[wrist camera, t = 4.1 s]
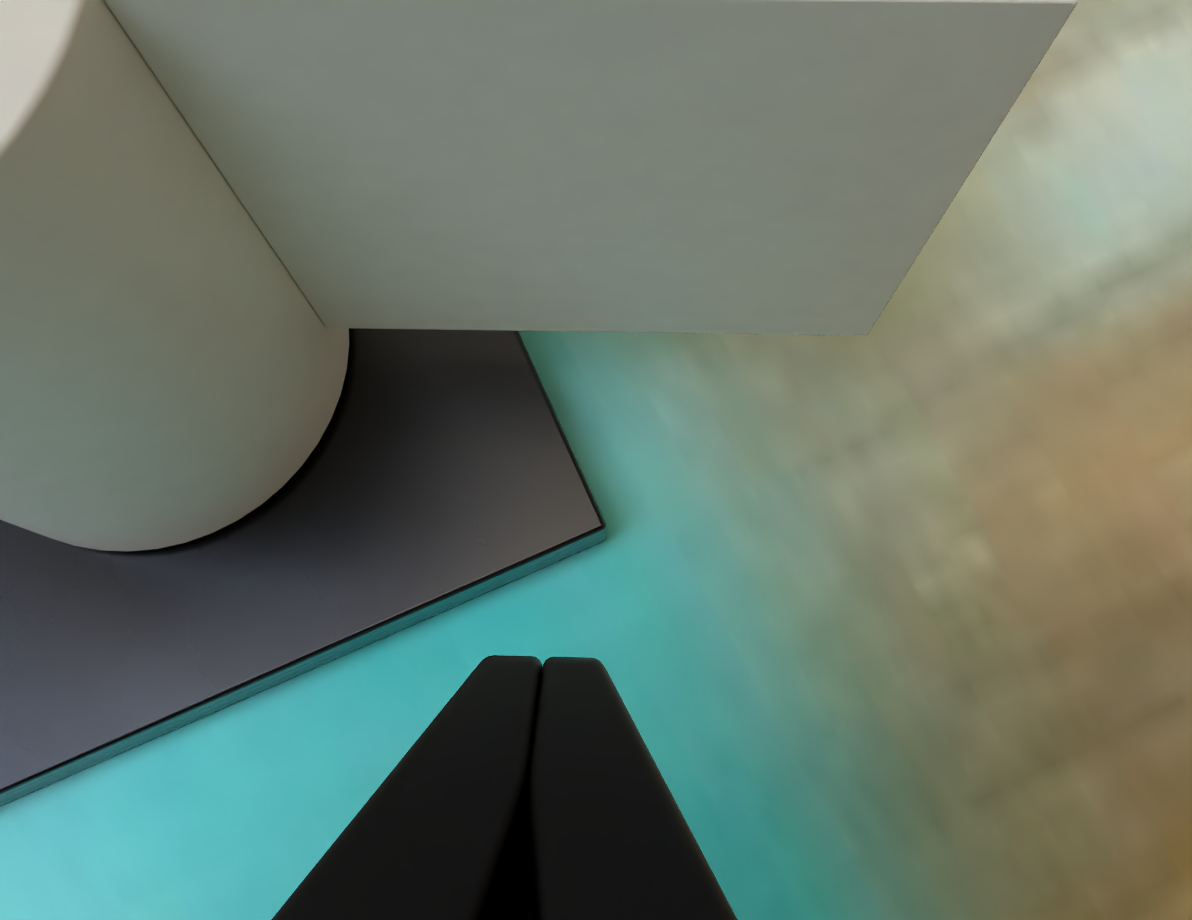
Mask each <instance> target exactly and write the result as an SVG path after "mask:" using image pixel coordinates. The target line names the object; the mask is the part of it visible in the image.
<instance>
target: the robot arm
mask: <svg viewBox="0 0 1192 920" xmlns="http://www.w3.org/2000/svg"><path fill="white" fill-rule="evenodd" d="M272 920H737V918H736V916H735V914H734V912H733V910H732V909H731V907H730V905H729V903H728V901H727V899H726V897H725V895H724V893H723V891H722V889H721V888H720V886H719V884H718V882H717V880H716V878H715V876H714V874H713V872H712V870H711V869H710V867H709V865H708V863H707V861H706V859H705V857H704V855H703V853H702V851H701V849H700V848H699V846H698V844H697V842H696V840H695V838H694V836H693V834H692V832H691V830H690V829H689V827H688V825H687V823H686V821H685V819H684V817H683V815H682V813H681V811H680V809H679V808H678V806H677V804H676V802H675V800H674V798H673V796H672V794H671V792H670V790H669V789H668V787H667V785H666V783H665V781H664V779H663V777H662V775H661V773H660V771H659V769H658V768H657V766H656V764H655V762H654V760H653V758H652V756H651V754H650V752H649V750H648V749H647V747H646V745H645V743H644V741H643V739H642V737H641V735H640V733H639V731H638V729H637V728H636V726H635V724H634V722H633V720H632V718H631V716H630V714H629V712H628V710H627V709H626V707H625V705H624V703H623V701H622V699H621V697H620V695H619V693H618V691H617V690H616V688H615V686H614V684H613V682H612V680H611V678H610V676H609V674H608V672H607V670H606V669H605V667H604V665H603V664H602V663H601V662H600V661H599V660H597V659H595V658H580V657H550V658H549V659H547V660H546V661H545V663H544V664H543V667H542V663H541V662H540V660H539V659H538V658H536V657H533V656H497V655H493V656H488V657H486V658H485V659H483V660H482V661H481V662H480V663H479V665H478V666H477V667H476V668H475V670H474V671H473V672H472V673H471V674H470V676H469V677H468V678H467V679H466V681H465V682H464V683H463V684H462V686H461V687H460V688H459V689H458V691H457V692H456V693H455V694H454V695H453V697H452V698H451V699H450V700H449V702H448V703H447V704H446V705H445V707H444V708H443V709H442V710H441V711H440V713H439V714H438V715H437V716H436V718H435V719H434V720H433V721H432V723H431V724H430V725H429V726H428V727H427V729H426V730H425V731H424V732H423V734H422V735H421V736H420V737H419V739H418V740H417V741H416V742H415V743H414V745H413V746H412V747H411V748H410V750H409V751H408V752H407V753H406V755H405V756H404V757H403V758H402V759H401V761H400V762H399V763H398V764H397V766H396V767H395V768H394V769H393V771H392V772H391V773H390V774H389V775H388V777H387V778H386V779H385V780H384V782H383V783H382V784H381V785H380V787H379V788H378V789H377V790H376V792H375V793H374V794H373V795H372V796H371V798H370V799H369V800H368V801H367V803H366V804H365V805H364V806H363V808H362V809H361V810H360V811H359V812H358V814H357V815H356V816H355V817H354V819H353V820H352V821H351V822H350V824H349V825H348V826H347V827H346V828H345V830H344V831H343V832H342V833H341V835H340V836H339V837H338V838H337V840H336V841H335V842H334V843H333V844H332V846H331V847H330V848H329V849H328V851H327V852H326V853H325V854H324V856H323V857H322V858H321V859H320V860H319V862H318V863H317V864H316V865H315V867H314V868H313V869H312V870H311V872H310V873H309V874H308V875H307V876H306V878H305V879H304V880H303V881H302V883H301V884H300V885H299V886H298V888H297V889H296V890H295V891H294V893H293V894H292V895H291V896H290V897H289V899H288V900H287V901H286V902H285V904H284V905H283V906H282V907H281V909H280V910H279V911H278V912H277V913H276V915H275V916H274V917H273V918H272Z"/></svg>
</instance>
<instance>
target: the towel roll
mask: <svg viewBox="0 0 1192 920" xmlns="http://www.w3.org/2000/svg"><path fill="white" fill-rule="evenodd" d="M1077 3H1078V0H0V520H3V521H5V522H8V523H11V524H13V525H16V526H19V527H22V528H24V529H27V530H30V531H32V532H35V533H38V534H41V535H43V536H46V537H49V538H52V539H55V540H58V541H61V542H64V543H67V544H71V545H74V546H79V547H85V548H90V549H96V550H105V551H139V550H150V549H159V548H163V547H168V546H172V545H177V544H181V543H185V542H188V541H191V540H194V539H197V538H200V537H202V536H205V535H208V534H211V533H213V532H215V531H217V530H219V529H221V528H223V527H225V526H227V525H229V524H231V523H233V522H235V521H237V520H239V519H240V518H242V517H243V516H245V515H246V514H248V513H249V512H251V511H252V510H254V509H255V508H257V507H259V506H260V505H261V504H263V503H264V502H265V501H266V500H267V499H269V498H270V497H271V496H272V495H273V494H274V493H276V492H277V491H278V490H279V489H280V488H282V487H283V486H284V485H285V483H286V482H287V481H288V480H289V479H290V478H291V477H292V476H293V475H294V474H295V473H296V472H297V471H298V469H299V468H300V467H301V466H302V465H303V464H304V462H305V461H306V459H307V458H308V457H309V455H310V454H311V452H312V451H313V450H314V448H315V447H316V445H317V444H318V442H319V441H320V439H321V437H322V435H323V433H324V431H325V430H326V428H327V426H328V424H329V422H330V420H331V418H332V415H333V413H334V410H335V408H336V405H337V403H338V400H339V397H340V395H341V391H342V387H343V382H344V378H345V374H346V370H347V361H348V351H349V328H369V329H440V330H512V331H584V332H656V333H727V334H799V335H868V333H869V332H870V330H871V329H872V327H873V326H874V324H875V322H876V321H877V319H878V318H879V316H880V314H881V313H882V311H883V310H884V308H885V307H886V305H887V303H888V302H889V300H890V299H891V297H892V295H893V294H894V292H895V291H896V289H897V288H898V286H899V284H900V283H901V281H902V280H903V278H904V276H905V275H906V273H907V272H908V270H909V269H910V267H911V265H912V264H913V262H914V261H915V259H916V258H917V256H918V254H919V253H920V251H921V250H922V248H923V246H924V245H925V243H926V242H927V240H928V239H929V237H930V235H931V234H932V232H933V231H934V229H935V227H936V226H937V224H938V223H939V221H940V220H941V218H942V216H943V215H944V213H945V212H946V210H947V208H948V207H949V205H950V204H951V202H952V201H953V199H954V197H955V196H956V194H957V193H958V191H959V190H960V188H961V186H962V185H963V183H964V182H965V180H966V178H967V177H968V175H969V174H970V172H971V171H972V169H973V167H974V166H975V164H976V163H977V161H978V159H979V158H980V156H981V155H982V153H983V152H984V150H985V148H986V147H987V145H988V144H989V142H990V140H991V139H992V137H993V136H994V134H995V133H996V131H997V129H998V128H999V126H1000V125H1001V123H1002V122H1003V120H1004V118H1005V117H1006V115H1007V114H1008V112H1009V110H1010V109H1011V107H1012V106H1013V104H1014V103H1015V101H1016V99H1017V98H1018V96H1019V95H1020V93H1021V91H1022V90H1023V88H1024V87H1025V85H1026V84H1027V82H1028V80H1029V79H1030V77H1031V76H1032V74H1033V72H1034V71H1035V69H1036V68H1037V66H1038V65H1039V63H1040V61H1041V60H1042V58H1043V57H1044V55H1045V54H1046V52H1047V50H1048V49H1049V47H1050V46H1051V44H1052V42H1053V41H1054V39H1055V38H1056V36H1057V35H1058V33H1059V31H1060V30H1061V28H1062V27H1063V25H1064V23H1065V22H1066V20H1067V19H1068V17H1069V16H1070V14H1071V12H1072V11H1073V9H1074V8H1075V6H1076V5H1077Z"/></svg>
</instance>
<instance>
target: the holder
mask: <svg viewBox="0 0 1192 920" xmlns="http://www.w3.org/2000/svg"><path fill="white" fill-rule="evenodd" d="M605 539H606V531H605V522H604V520H603V517H602V515H601V513H600V511H599V509H598V506H597V504H596V502H595V500H594V497H593V495H592V493H591V491H590V489H589V486H588V484H587V482H586V480H585V478H584V475H583V473H582V471H581V469H580V467H579V464H578V462H577V460H576V458H575V456H574V453H573V451H572V449H571V447H570V445H569V442H568V440H567V438H566V436H565V434H564V431H563V429H562V427H561V425H560V423H559V420H558V418H557V416H556V414H555V411H554V409H553V407H552V405H551V403H550V400H549V398H548V396H547V394H546V392H545V389H544V387H543V385H542V383H541V381H540V378H539V376H538V374H537V372H536V370H535V367H534V365H533V363H532V361H531V359H530V356H529V354H528V352H527V350H526V348H525V345H524V343H523V341H522V339H521V336H520V334H519V332H518V331H512V330H440V329H369V328H349V351H348V361H347V370H346V374H345V378H344V382H343V387H342V391H341V395H340V397H339V400H338V403H337V405H336V408H335V410H334V413H333V415H332V418H331V420H330V422H329V424H328V426H327V428H326V430H325V431H324V433H323V435H322V437H321V439H320V441H319V442H318V444H317V445H316V447H315V448H314V450H313V451H312V452H311V454H310V455H309V457H308V458H307V459H306V461H305V462H304V464H303V465H302V466H301V467H300V468H299V469H298V471H297V472H296V473H295V474H294V475H293V476H292V477H291V478H290V479H289V480H288V481H287V482H286V483H285V485H284V486H283V487H282V488H280V489H279V490H278V491H277V492H276V493H274V494H273V495H272V496H271V497H270V498H269V499H267V500H266V501H265V502H264V503H263V504H261V505H260V506H259V507H257V508H255V509H254V510H252V511H251V512H249V513H248V514H246V515H245V516H243V517H242V518H240V519H239V520H237V521H235V522H233V523H231V524H229V525H227V526H225V527H223V528H221V529H219V530H217V531H215V532H213V533H211V534H208V535H205V536H202V537H200V538H197V539H194V540H191V541H188V542H185V543H181V544H177V545H172V546H168V547H163V548H159V549H150V550H139V551H105V550H96V549H90V548H85V547H79V546H74V545H71V544H67V543H64V542H61V541H58V540H55V539H52V538H49V537H46V536H43V535H41V534H38V533H35V532H32V531H30V530H27V529H24V528H22V527H19V526H16V525H13V524H11V523H8V522H5V521H3V520H0V806H2V805H4V804H6V803H9V802H11V801H13V800H15V799H18V798H20V797H22V796H24V795H27V794H29V793H31V792H34V791H36V790H38V789H40V788H43V787H45V786H47V785H49V784H52V783H54V782H56V781H59V780H61V779H63V778H65V777H68V776H70V775H72V774H75V773H77V772H79V771H81V770H84V769H86V768H88V767H90V766H93V765H95V764H97V763H100V762H102V761H104V760H106V759H109V758H111V757H113V756H115V755H118V754H120V753H122V752H125V751H127V750H129V749H131V748H134V747H136V746H138V745H140V744H143V743H145V742H147V741H150V740H152V739H154V738H156V737H159V736H161V735H163V734H166V733H168V732H170V731H172V730H175V729H177V728H179V727H181V726H184V725H186V724H188V723H191V722H193V721H195V720H197V719H200V718H202V717H204V716H206V715H209V714H211V713H213V712H216V711H218V710H220V709H222V708H225V707H227V706H229V705H232V704H234V703H236V702H238V701H241V700H243V699H245V698H247V697H250V696H252V695H254V694H257V693H259V692H261V691H263V690H266V689H268V688H270V687H272V686H275V685H277V684H279V683H282V682H284V681H286V680H288V679H291V678H293V677H295V676H297V675H300V674H302V673H304V672H307V671H309V670H311V669H313V668H316V667H318V666H320V665H323V664H325V663H327V662H329V661H332V660H334V659H336V658H338V657H341V656H343V655H345V654H348V653H350V652H352V651H354V650H357V649H359V648H361V647H363V646H366V645H368V644H370V643H373V642H375V641H377V640H379V639H382V638H384V637H386V636H388V635H391V634H393V633H395V632H398V631H400V630H402V629H404V628H407V627H409V626H411V625H414V624H416V623H418V622H420V621H423V620H425V619H427V618H429V617H432V616H434V615H436V614H439V613H441V612H443V611H445V610H448V609H450V608H452V607H454V606H457V605H459V604H461V603H464V602H466V601H468V600H470V599H473V598H475V597H477V596H480V595H482V594H484V593H486V592H489V591H491V590H493V589H495V588H498V587H500V586H502V585H505V584H507V583H509V582H511V581H514V580H516V579H518V578H520V577H523V576H525V575H527V574H530V573H532V572H534V571H536V570H539V569H541V568H543V567H545V566H548V565H550V564H552V563H555V562H557V561H559V560H561V559H564V558H566V557H568V556H571V555H573V554H575V553H577V552H580V551H582V550H584V549H586V548H589V547H591V546H593V545H596V544H598V543H600V542H602V541H604V540H605Z"/></svg>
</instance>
